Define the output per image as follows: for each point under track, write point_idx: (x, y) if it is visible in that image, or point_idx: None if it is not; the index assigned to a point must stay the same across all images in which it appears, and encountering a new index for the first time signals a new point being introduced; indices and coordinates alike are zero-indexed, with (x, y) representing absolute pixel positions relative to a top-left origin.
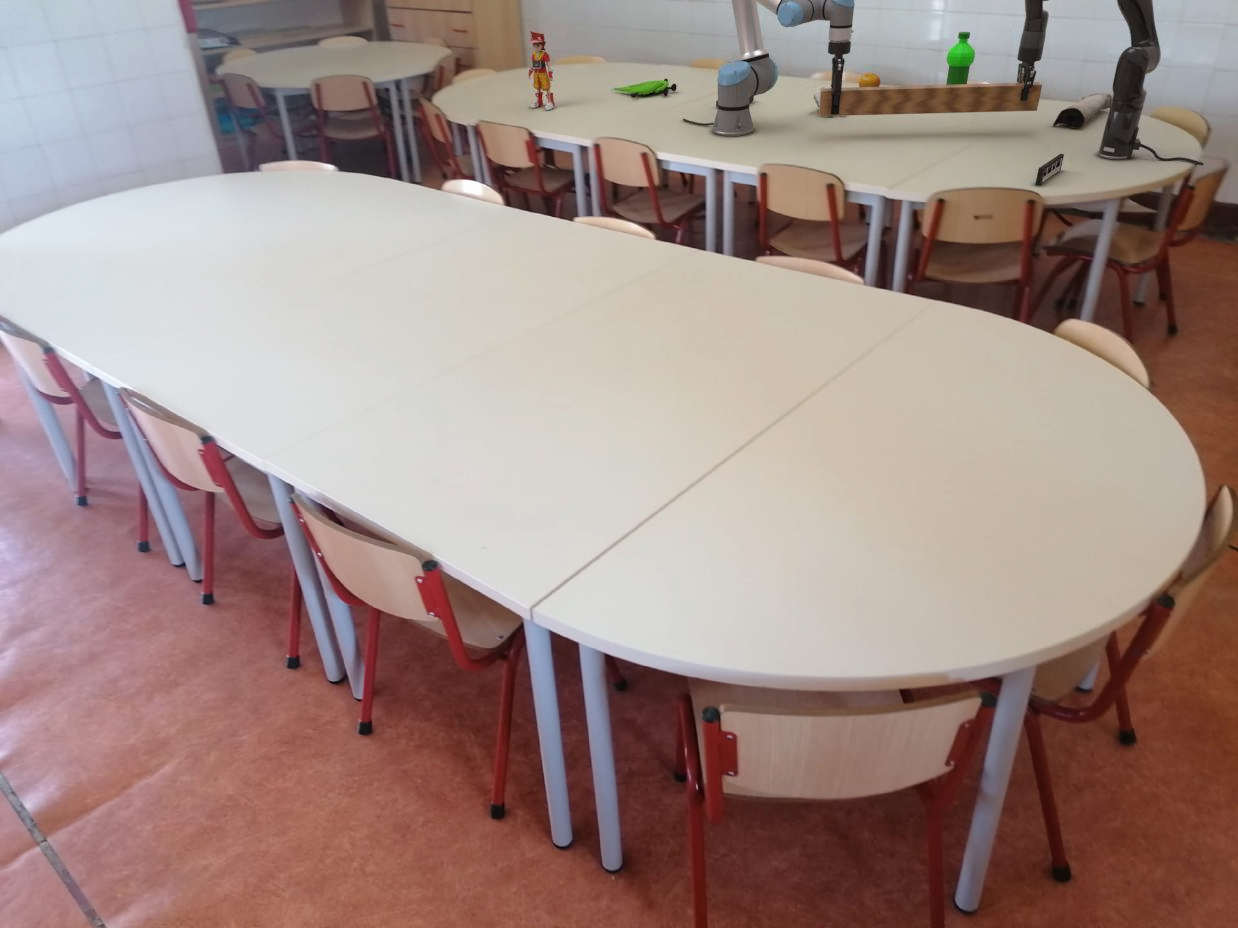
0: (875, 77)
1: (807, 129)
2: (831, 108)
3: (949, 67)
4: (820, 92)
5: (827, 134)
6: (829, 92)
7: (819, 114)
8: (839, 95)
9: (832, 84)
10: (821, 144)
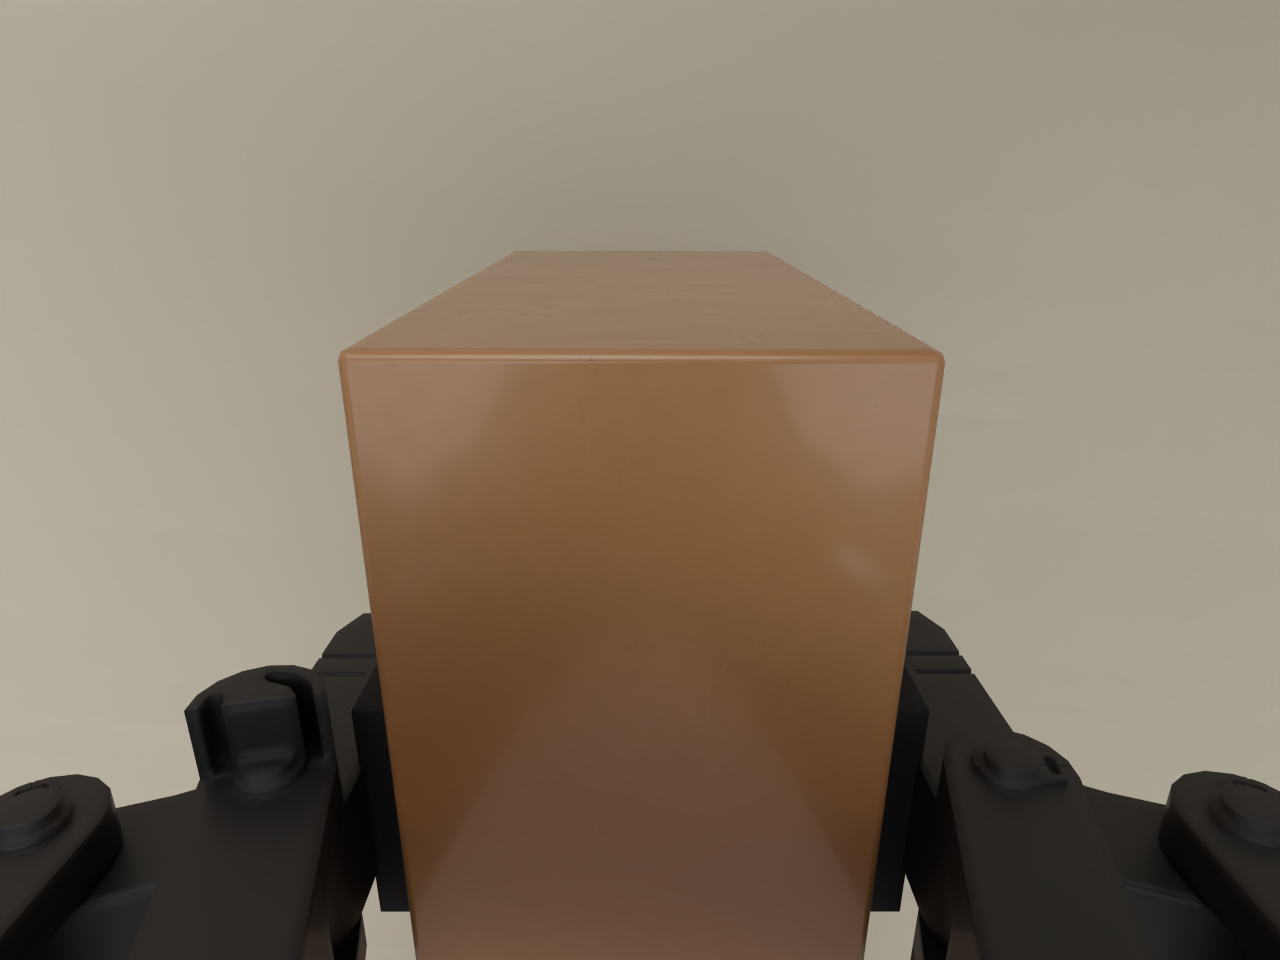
0: None
1: (1104, 103)
2: None
3: None
4: (698, 327)
5: None
6: (392, 665)
7: (524, 253)
8: (383, 878)
9: (983, 932)
10: (309, 259)
